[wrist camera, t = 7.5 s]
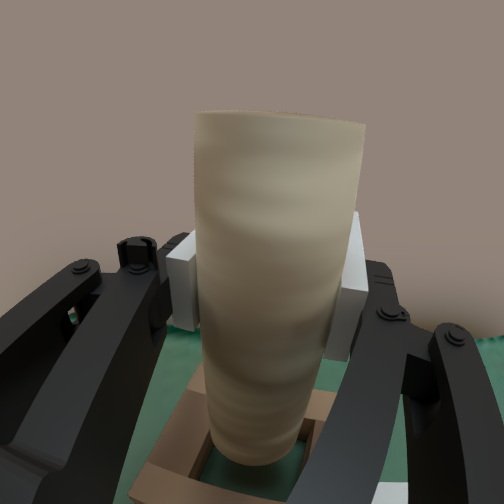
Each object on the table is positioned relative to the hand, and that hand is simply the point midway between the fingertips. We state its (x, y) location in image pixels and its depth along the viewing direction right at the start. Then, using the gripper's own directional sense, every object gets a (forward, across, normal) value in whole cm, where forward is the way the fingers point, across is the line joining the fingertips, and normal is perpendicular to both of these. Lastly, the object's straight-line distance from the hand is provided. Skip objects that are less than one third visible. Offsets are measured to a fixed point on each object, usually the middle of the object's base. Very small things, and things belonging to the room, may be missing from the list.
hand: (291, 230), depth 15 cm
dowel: (-5, 0, -8) cm, 10 cm away
